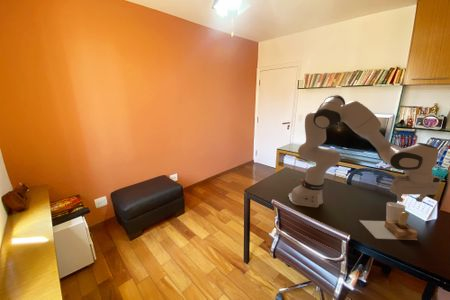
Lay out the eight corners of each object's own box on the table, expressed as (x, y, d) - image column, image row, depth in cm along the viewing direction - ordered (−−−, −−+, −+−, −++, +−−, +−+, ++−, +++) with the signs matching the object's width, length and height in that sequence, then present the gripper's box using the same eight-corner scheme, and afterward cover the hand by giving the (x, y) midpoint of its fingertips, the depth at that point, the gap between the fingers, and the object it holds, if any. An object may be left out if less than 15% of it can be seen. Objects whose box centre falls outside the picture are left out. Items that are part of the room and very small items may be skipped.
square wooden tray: (397, 238, 96) (399, 232, 95) (384, 226, 104) (385, 220, 103) (416, 239, 95) (418, 232, 94) (401, 226, 104) (403, 220, 103)
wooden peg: (398, 234, 99) (404, 214, 95) (394, 230, 101) (400, 211, 98) (404, 234, 98) (410, 214, 95) (399, 230, 101) (405, 211, 98)
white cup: (381, 218, 112) (383, 202, 110) (393, 217, 112) (395, 201, 111) (394, 225, 104) (396, 208, 103) (407, 224, 104) (409, 207, 103)
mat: (376, 239, 96) (376, 238, 96) (359, 221, 109) (359, 220, 109) (417, 240, 95) (417, 239, 95) (395, 222, 108) (395, 221, 108)
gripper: (400, 179, 88) (393, 204, 93) (445, 179, 88) (436, 204, 92) (389, 173, 94) (383, 197, 99) (431, 173, 94) (423, 197, 98)
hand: (409, 201), depth 95 cm, fingers open, 8 cm apart
